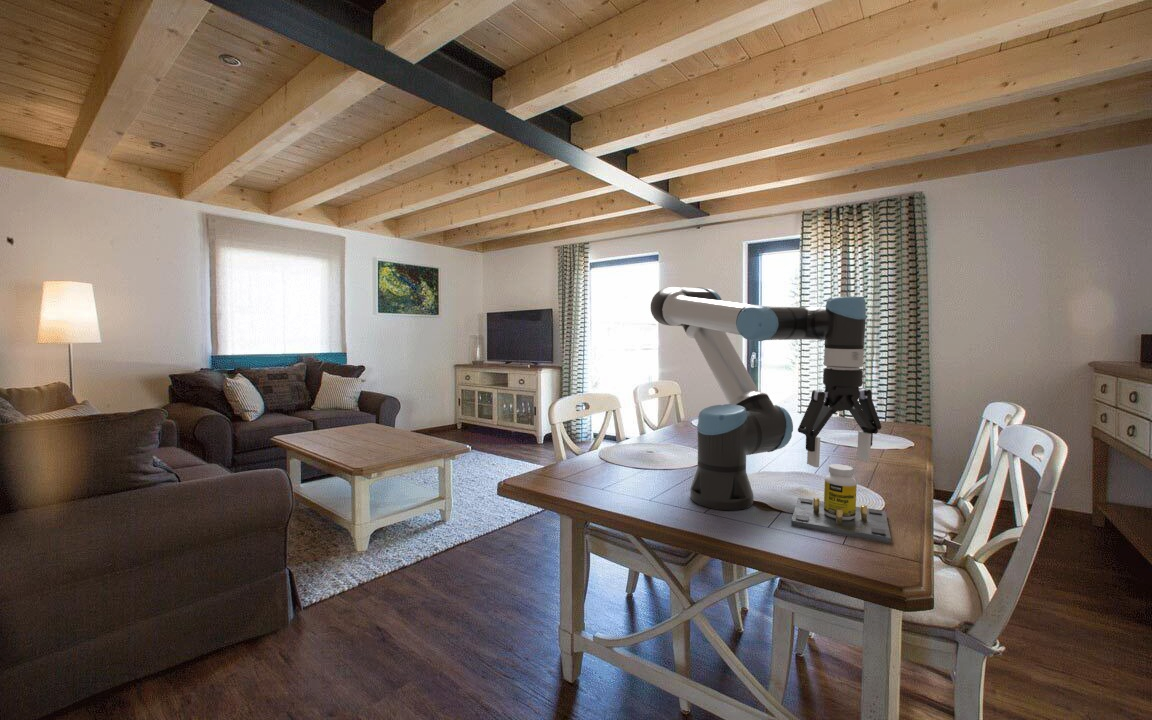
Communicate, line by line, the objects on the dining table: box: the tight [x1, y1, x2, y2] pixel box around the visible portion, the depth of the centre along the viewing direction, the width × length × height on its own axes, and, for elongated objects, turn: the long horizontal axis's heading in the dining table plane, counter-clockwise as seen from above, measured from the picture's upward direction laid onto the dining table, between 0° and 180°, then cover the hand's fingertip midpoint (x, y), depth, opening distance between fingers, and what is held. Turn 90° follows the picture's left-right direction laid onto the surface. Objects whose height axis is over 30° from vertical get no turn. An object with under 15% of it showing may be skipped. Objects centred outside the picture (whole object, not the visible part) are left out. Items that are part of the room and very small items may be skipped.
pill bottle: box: [823, 463, 858, 520], centre depth 104 cm, size 6×6×11 cm
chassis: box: [790, 497, 892, 545], centre depth 105 cm, size 18×16×4 cm
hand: (838, 463), depth 104 cm, fingers open, 13 cm apart
